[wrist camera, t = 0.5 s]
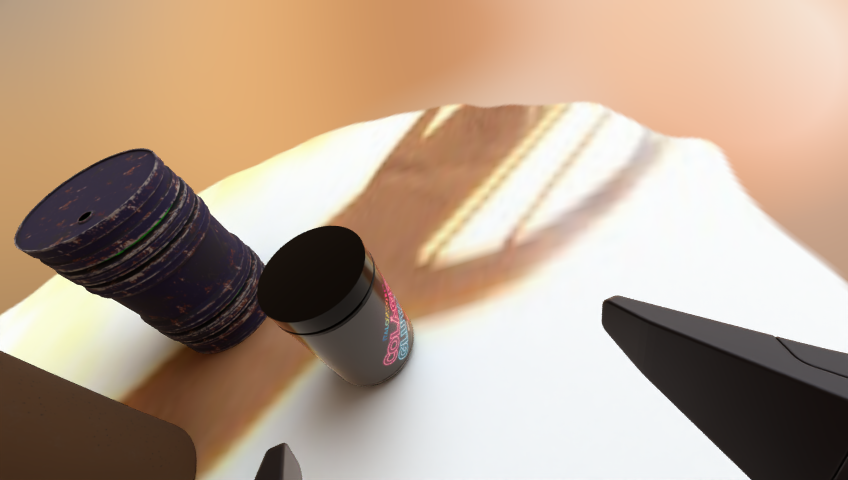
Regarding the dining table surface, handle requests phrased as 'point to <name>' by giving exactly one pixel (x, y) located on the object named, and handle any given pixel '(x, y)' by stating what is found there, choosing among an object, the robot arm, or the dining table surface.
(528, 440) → the dining table surface
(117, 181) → the dark purple cylinder
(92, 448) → the olive oil
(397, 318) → the supplement container
